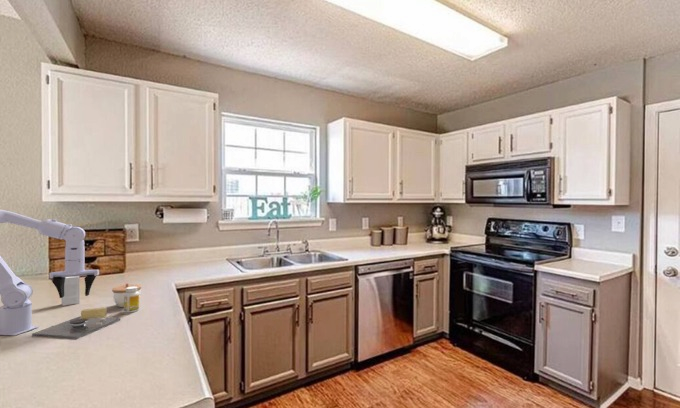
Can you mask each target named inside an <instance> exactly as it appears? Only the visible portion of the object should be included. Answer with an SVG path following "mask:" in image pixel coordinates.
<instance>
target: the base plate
mask: <svg viewBox="0 0 680 408" xmlns="http://www.w3.org/2000/svg"><path fill="white" fill-rule="evenodd" d="M78 317H81V315H79V316H77V317H76V318H78ZM70 320H71V319H69V320H66V321H63V322H61V323H58V324H55V325H52V326H50V327H47V328H45V329H41V330H39V331H35V332H33V333H31V336H32V337H42V338H45V337H46V338H56V339H57V338H59V339H60V338H61V339H71V340H72V339H73V340H77V339H80V338H83V337H84V336H88V335H90V334H92V333H94V332H96V331H98V330H101V329H103V328H105V327H109V326H110V325H112V324H115V323H117V322H120V321H121V317H107V316H106V317H101V318H92V319H88V321H86V322H84V323H79V324H70Z"/></svg>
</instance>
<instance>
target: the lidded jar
mask: <svg viewBox="0 0 680 408" xmlns="http://www.w3.org/2000/svg"><path fill="white" fill-rule="evenodd" d="M128 287H137V292H139V299H140V298H141V295H142V294H141V293H142V285H141V284H129V283H125V284H124V285H119V286H115V287H113V288H112V289H111V291H112V299H113V301H114V303H115V304H116V305H117V306H118V307H120V308H124V294H125V293H127V292H126V288H128Z"/></svg>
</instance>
